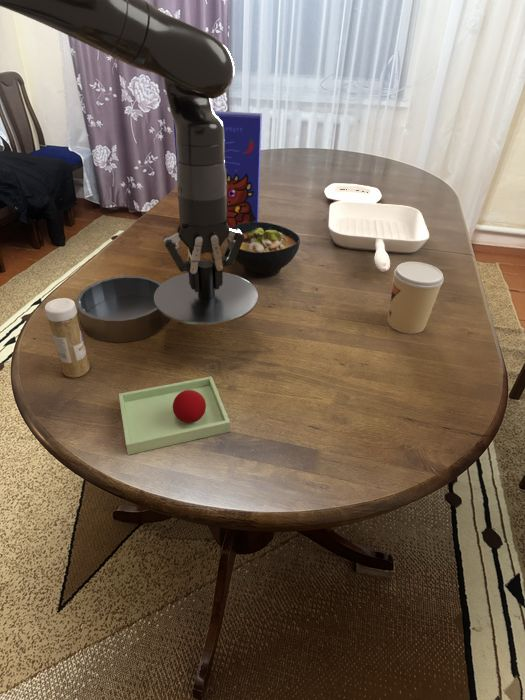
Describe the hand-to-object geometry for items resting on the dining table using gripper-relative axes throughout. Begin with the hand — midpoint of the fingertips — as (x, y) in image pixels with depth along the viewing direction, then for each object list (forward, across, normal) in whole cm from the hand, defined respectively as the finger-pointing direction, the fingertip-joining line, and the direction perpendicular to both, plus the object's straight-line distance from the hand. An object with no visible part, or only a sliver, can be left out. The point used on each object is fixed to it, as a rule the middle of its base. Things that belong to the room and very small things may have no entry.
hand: (206, 288), depth 82 cm
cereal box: (+12, -17, -55) cm, 59 cm away
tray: (+12, +10, +18) cm, 24 cm away
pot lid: (+2, 0, 0) cm, 2 cm away
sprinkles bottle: (+12, +24, +2) cm, 27 cm away
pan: (+12, -55, -31) cm, 64 cm away
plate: (+11, -67, -68) cm, 96 cm away
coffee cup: (+12, -41, +5) cm, 43 cm away
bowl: (+12, -20, -26) cm, 35 cm away
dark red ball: (+9, +8, +20) cm, 23 cm away
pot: (+12, +14, -13) cm, 22 cm away
